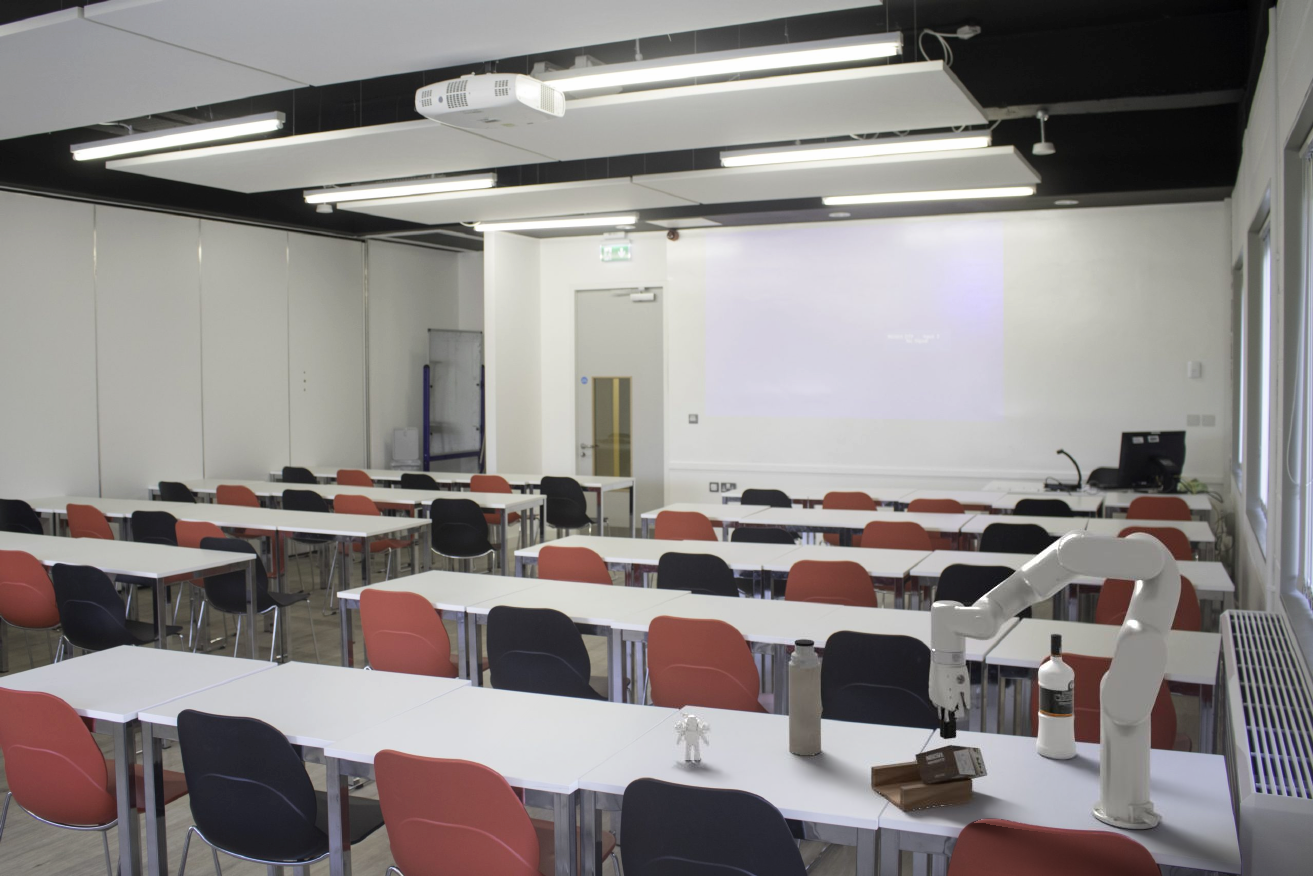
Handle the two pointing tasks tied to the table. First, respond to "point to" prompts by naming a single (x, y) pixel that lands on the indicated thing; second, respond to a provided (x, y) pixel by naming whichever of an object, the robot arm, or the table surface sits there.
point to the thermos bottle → (804, 699)
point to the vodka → (1056, 706)
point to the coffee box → (950, 764)
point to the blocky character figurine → (692, 735)
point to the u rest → (917, 787)
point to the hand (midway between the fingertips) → (948, 737)
